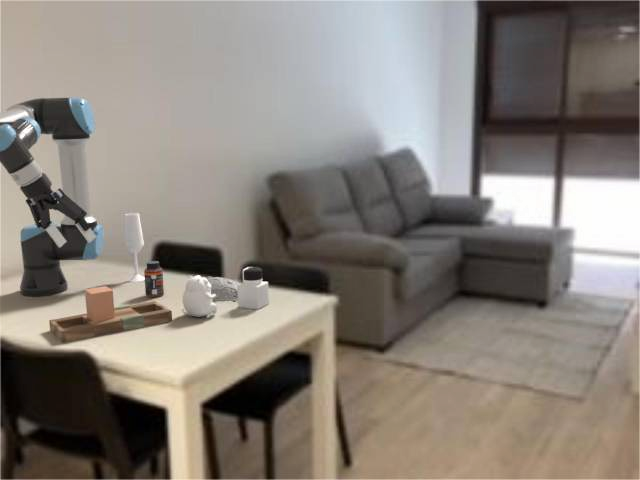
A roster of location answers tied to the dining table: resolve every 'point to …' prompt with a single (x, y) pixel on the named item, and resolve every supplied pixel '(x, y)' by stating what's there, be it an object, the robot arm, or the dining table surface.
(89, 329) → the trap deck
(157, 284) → the supplement bottle
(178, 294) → the dining table surface
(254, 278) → the medicine bottle
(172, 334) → the dining table surface
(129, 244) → the champagne flute
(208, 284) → the figurine
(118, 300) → the dining table surface
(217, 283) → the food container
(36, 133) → the robot arm
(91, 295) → the block
